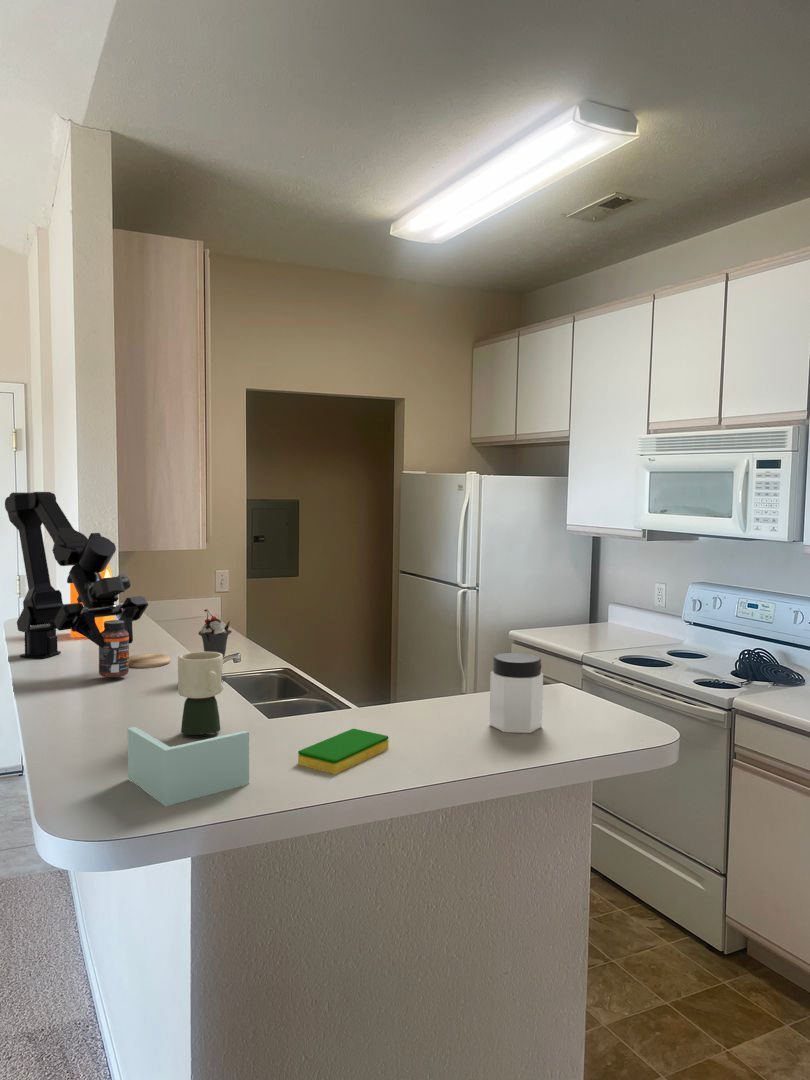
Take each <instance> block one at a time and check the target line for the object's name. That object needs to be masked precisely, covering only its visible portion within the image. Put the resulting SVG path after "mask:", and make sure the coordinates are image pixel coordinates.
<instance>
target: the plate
mask: <svg viewBox="0 0 810 1080" xmlns="http://www.w3.org/2000/svg"><path fill="white" fill-rule="evenodd" d="M170 663H171V657H170V656H169V655H167V654H160V653H159V654H158V653H157V654H156V653H155V654H154V653H148V654H147V653H145V654H137V655H131V656H129V668H135V669H149V668H158V667H164V666H167V665H169V664H170Z"/></svg>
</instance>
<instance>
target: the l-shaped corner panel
mask: <svg viewBox="0 0 810 1080" xmlns="http://www.w3.org/2000/svg"><path fill="white" fill-rule="evenodd" d="M128 778H129V779H130V780H132V781H133V782H135V783H136V784H138V785H139V786H140V787H142V788H143V789H144V790H146V791H147V792H148V793H149V794H151V795H152V796H153V797H152V796H151V795H150V796H151V797H152V798H154V799H155V798H156V799H157V800H156V799H155V800H156V801H158V802H159V803H161V805H163V806H165V807H168V806H171V805H175V804H179V803H182V802H187V801H190V800H195V799H197V798H201V797H206V796H208V795H209V796H210V795H213V794H216V793H220V792H225V791H228V790H231V789H235V788H239V787H243V786H246V785H249V784H250V732H249V731H247V730H243V731H238V732H233V733H228V734H224V735H219V736H215V737H211V738H207V739H206V738H205V739H202V740H197V741H191V742H187V743H184V744H178V745H173V746H169V745H167V744H166V743H164V742H162V741H160V740H159V739H157V738H155V737H154V736H152V735H150V734H149V733H147V732H145V731H144V730H141V729H140V728H138V727H136V726H131V727H128V728H127V779H128ZM130 780H129V781H130ZM144 790H143V791H144ZM148 793H147V794H148ZM149 794H148V795H149Z"/></svg>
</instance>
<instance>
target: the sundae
mask: <svg viewBox="0 0 810 1080" xmlns="http://www.w3.org/2000/svg"><path fill="white" fill-rule="evenodd" d="M204 612H205V613H206V616H207V617H206V619H205V620H204V623H205V624H203V626H201V629H200V630H199V631H198V633H197V635H199V636H201V640H202V644H203V652H217V653H221V654H222V655H223V659H224V658H225V656H226V652H227V651H226V650H227V643H228V642H227V641H228V637H229V635H230V634H231V633H233V632H232V630H230V629H229V627H230V624H231V622H230V621H228V622H227V623H226V624H224V623H225V622H223V621H222V620H221V619H219V618H218V617H217V616H214V615H213V614H211V613H210V611H209V610H208V608H207V609H204ZM209 615H210V616H211V617H210V619H209ZM227 679H228V678H227V676H225V675H222V680H223V681H222V682H224V681H227Z"/></svg>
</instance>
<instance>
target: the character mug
mask: <svg viewBox="0 0 810 1080" xmlns="http://www.w3.org/2000/svg"><path fill="white" fill-rule="evenodd" d="M177 658H178V659H177V685H178V687H177V689H178V690H177V691H178V695H179V696H180V697H184V698H186V699H185V701H184V704H183V712H182V718H181V729H180V732H181V734H182V735H188V736H189V735H190V736H195V735H197V736H198V735H202V736H203V735H206V736H207V734H217V733H219V732H220V731H221V720H220V714H219V713H220V712H219V706H218V701H217V698H216V696H217V695H219V694H221V693H222V692H223V690H224V684H223V683H224V681H222V676H223V670H224V658H223V655H222V654H221V653H217V652H204V651H191V652H185V653H182V654H179V655H178V657H177Z"/></svg>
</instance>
